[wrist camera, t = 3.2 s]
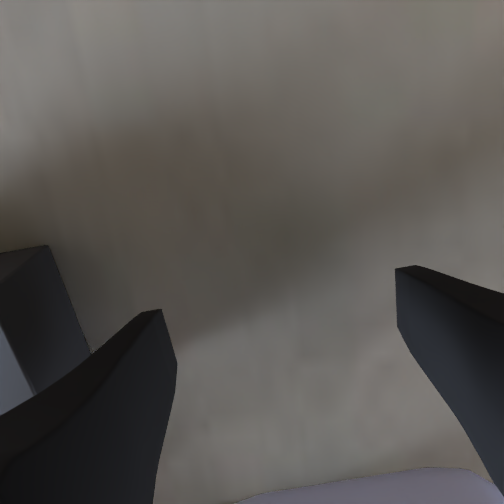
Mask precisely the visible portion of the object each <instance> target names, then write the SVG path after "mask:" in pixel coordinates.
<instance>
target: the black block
mask: <svg viewBox="0 0 504 504" xmlns="http://www.w3.org/2000/svg"><path fill="white" fill-rule="evenodd" d="M90 355H91V354H90V351H89V349H88V346H87V344H86V341H85V338H84V336H83V333H82V331H81V328H80V326H79V323H78V320H77V318H76V315H75V313H74V310H73V308H72V305H71V303H70V300H69V297H68V295H67V292H66V290H65V287H64V285H63V282H62V280H61V277H60V274H59V272H58V269H57V267H56V264H55V262H54V259H53V257H52V254H51V251H50V249H49V247H48V246H47V245H44V246H38V247H33V248H27V249H22V250H16V251H10V252H5V253H0V415H2V414H4V413H6V412H8V411H9V410H11V409H13V408H14V407H16V406H18V405H19V404H21V403H23V402H25V401H26V400H28V399H30V398H31V397H33V396H35V395H36V394H38V393H40V392H41V391H43V390H44V389H46V388H47V387H49V386H50V385H52V384H53V383H55V382H56V381H58V380H59V379H61V378H62V377H63V376H65V375H66V374H68V373H69V372H70V371H72V370H73V369H74V368H76V367H77V366H78V365H79V364H81V363H82V362H83V361H84V360H85V359H87V358H88V357H89V356H90Z"/></svg>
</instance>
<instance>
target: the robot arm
mask: <svg viewBox="0 0 504 504" xmlns="http://www.w3.org/2000/svg"><path fill="white" fill-rule="evenodd" d="M395 281H396V307H397V327H398V329H399V331H400V333H401V335H402V337H403V339H404V341H405V343H406V345H407V347H408V348H409V350H410V352H411V354H412V355H413V357H414V358H415V360H416V361H417V363H418V364H419V365H420V367H421V368H422V370H423V371H424V372H425V374H426V375H427V377H428V378H429V379H430V381H431V382H432V384H433V385H434V386H435V388H436V389H437V391H438V392H439V393H440V395H441V396H442V397H443V399H444V400H445V402H446V403H447V404H448V406H449V407H450V409H451V410H452V411H453V413H454V414H455V416H456V417H457V419H458V420H459V422H460V424H461V425H462V427H463V428H464V430H465V432H466V434H467V435H468V437H469V439H470V441H471V442H472V444H473V446H474V448H475V449H476V451H477V453H478V455H479V456H480V458H481V460H482V462H483V464H484V466H485V467H486V469H487V471H488V473H489V475H490V477H491V478H492V480H493V482H494V484H495V485H494V484H493V483H491V482H489V481H487V480H486V479H484V478H482V477H481V476H479V475H477V474H475V473H474V472H472V471H470V470H467V469H461V468H434V467H425V468H418V469H412V470H406V471H400V472H393V473H387V474H381V475H374V476H368V477H362V478H356V479H349V480H343V481H337V482H330V483H324V484H318V485H312V486H305V487H299V488H293V489H286V490H280V491H274V492H268V493H261V494H258V495H256V496H253V497H250V498H247V499H245V500H242V501H239V502H236V503H234V504H504V293H500V292H497V291H493V290H490V289H487V288H484V287H481V286H478V285H475V284H472V283H469V282H466V281H463V280H460V279H457V278H454V277H451V276H449V275H446V274H443V273H440V272H437V271H434V270H431V269H428V268H425V267H421V266H417V265H414V266H408V267H402V268H396V269H395ZM176 375H177V361H176V357H175V354H174V350H173V347H172V343H171V340H170V337H169V333H168V330H167V326H166V323H165V320H164V316H163V313H162V309H157V310H151V311H146V312H141V313H140V314H138V315H137V316H136V317H135V318H133V319H132V320H131V321H130V322H129V323H128V324H126V325H125V326H124V327H123V328H122V329H121V330H120V331H118V332H117V333H116V334H115V335H114V336H113V337H112V338H111V339H109V340H108V341H107V342H106V343H105V344H104V345H103V346H101V347H100V348H99V349H98V350H97V351H95V352H94V353H93V354H92V355H90V356H89V357H88V358H87V359H85V360H84V361H83V362H82V363H81V364H79V365H78V366H77V367H76V368H74V369H73V370H72V371H70V372H69V373H68V374H66V375H65V376H63V377H62V378H61V379H59V380H58V381H56V382H55V383H53V384H52V385H50V386H49V387H47V388H46V389H44V390H43V391H41V392H40V393H38V394H36V395H35V396H33V397H31V398H30V399H28V400H26V401H25V402H23V403H21V404H19V405H18V406H16V407H14V408H13V409H11V410H9V411H8V412H6V413H4V414H2V415H0V504H153V497H154V489H155V481H156V474H157V469H158V464H159V459H160V454H161V450H162V446H163V442H164V437H165V433H166V429H167V425H168V420H169V416H170V412H171V407H172V403H173V399H174V394H175V386H176Z"/></svg>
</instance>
